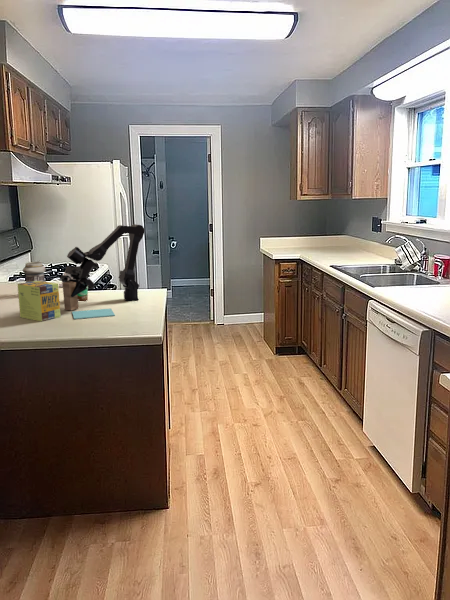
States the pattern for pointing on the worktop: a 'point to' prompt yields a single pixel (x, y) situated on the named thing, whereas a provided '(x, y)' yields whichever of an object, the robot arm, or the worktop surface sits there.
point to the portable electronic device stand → (62, 282)
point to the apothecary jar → (34, 271)
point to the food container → (83, 295)
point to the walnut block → (69, 296)
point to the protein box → (39, 300)
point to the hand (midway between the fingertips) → (68, 296)
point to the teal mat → (93, 313)
